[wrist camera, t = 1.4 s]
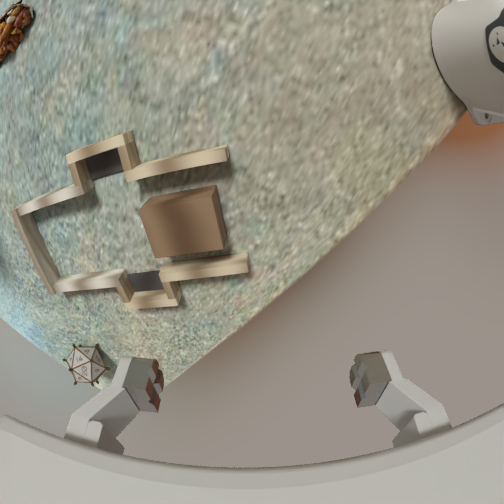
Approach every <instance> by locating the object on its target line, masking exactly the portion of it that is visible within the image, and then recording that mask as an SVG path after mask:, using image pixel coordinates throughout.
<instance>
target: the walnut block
mask: <svg viewBox="0 0 504 504" xmlns="http://www.w3.org/2000/svg"><path fill="white" fill-rule="evenodd" d="M139 213H140V216H141V219H142V222H143V225H144V228H145V231H146V234H147V237H148V239H149V242H150V245H151V248H152V251H153V253H154V256H155V258H162V257H169V256H177V255H184V254H191V253H199V252H206V251H214V250H221V249H224V245H225V239H226V234H227V232H226V227H225V223H224V218H223V214H222V209H221V205H220V200H219V195H218V191H217V186H216V185H213V186H207V187H201V188H196V189H190V190H185V191H180V192H175V193H170V194H165V195H160V196H155V197H151V198H149V199H148V200H147V201H146V203H145V204H144V205H143V206H142V207H141V208H140V209H139Z"/></svg>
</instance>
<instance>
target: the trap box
mask: <svg viewBox="0 0 504 504" xmlns="http://www.w3.org/2000/svg"><path fill="white" fill-rule="evenodd" d="M66 158H67V162H68V165H69V169H70V172H71V175H72V178H73V181H74V184H72V185H69V186H66V187H63V188H60V189H57V190H55V191H52V192H49V193H47V194H44V195H42V196H39V197H36V198H34V199H31V200H29V201H27V202H24V203H22V204H21V205H19V206H18V207H16V208H15V209H14V210H12V211H11V214H12V216H13V219H14V221H15V224H16V226H17V229H18V231H19V233H20V236H21V238H22V240H23V242H24V245H25V247H26V249H27V251H28V253H29V255H30V257H31V259H32V261H33V263H34V265H35V267H36V269H37V271H38V273H39V275H40V277H41V279H42V281H43V283H44V284H45V286H46V288H47V290H48V292H49V293H50V295H53V294H56V292H67V291H78V290H89V289H100V288H111V287H116V288H117V290H118V292H119V294H120V296H121V298H122V300H123V302H124V304H125V306H126V308H127V309H141V308H156V307H169V306H178V305H179V302H180V299H181V296H182V292H181V290H180V287H179V284H178V282H177V281H179V280H188V279H197V278H206V277H215V276H223V275H232V274H240V273H248V272H249V257H248V253H240V254H233V255H225V256H217V257H209V258H202V259H194V260H186V261H178V262H171V263H164V264H163V266H162V268H161V270H160V271H151V272H143V273H135V274H127V272H126V270H125V268H124V269H116V270H109V271H101V272H93V273H85V274H78V275H70V276H62V277H60V275H59V273H58V271H57V269H56V267H55V265H54V263H53V261H52V259H51V257H50V255H49V252H48V250H47V248H46V246H45V244H44V241H43V239H42V237H41V235H40V232H39V230H38V227H37V225H36V223H35V220H34V218H33V215H32V211H35V210H38V209H40V208H43V207H46V206H49V205H52V204H55V203H58V202H61V201H64V200H67V199H70V198H73V197H77V196H80V195H83V194H85V193H87V192H88V191H89V190H91V189H92V188H93V187H94V184H93V181H92V179H96V178H99V177H102V176H106V175H109V174H112V173H116V172H119V171H123V170H124V174H125V177H126V181H127V182H130V181H134V180H138V179H142V178H146V177H150V176H154V175H159V174H163V173H168V172H172V171H177V170H182V169H187V168H192V167H197V166H202V165H207V164H213V163H219V162H224V161H227V160H228V158H229V152H228V146H227V145H224V146H219V147H213V148H208V149H203V150H198V151H193V152H188V153H183V154H179V155H174V156H170V157H166V158H161V159H157V160H153V161H149V162H145V163H141V164H140V161H139V157H138V153H137V149H136V145H135V141H134V137H133V133H132V131H129V132H125V133H122V134H119V135H116V136H113V137H110V138H107V139H105V140H102V141H99V142H96V143H93V144H91V145H88V146H86V147H83V148H80V149H78V150H75V151H73V152H71V153H69V154H67V155H66Z"/></svg>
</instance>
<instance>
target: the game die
mask: <svg viewBox="0 0 504 504" xmlns="http://www.w3.org/2000/svg"><path fill="white" fill-rule="evenodd" d="M72 346H73V347H74V349H73V350H72V352H71V353H70V355H69V357H68V358H67V360H66V359H62V360H63V361H66V362H67V364H68V366H69V368H70V369H69V371H71V373H72V375H73V377H74V379H75V382H74V385H76V384H77V382H85V383H91V385H92V386H94V384H93V382H95V381H96V383H98V384H99V382H98V381H97V380H98V379H99V377H100V376H101V375H102V374H103V372H104V371H105V370H106V369H107V370H110V368H109V367H107V368H106V366H105V364H104V362H103V360H102V358H101V356H100V354H99V352H98V350H97V347H98V344H96V346H95V347H82V346H81V345H79V347H76V346H75V344H73V345H72Z"/></svg>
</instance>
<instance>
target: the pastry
mask: <svg viewBox="0 0 504 504" xmlns="http://www.w3.org/2000/svg"><path fill="white" fill-rule="evenodd" d="M13 3H14V2H13ZM21 3H22V0H18V1H17V2H16V4H11V5H10V7H9V8H8V9H7V10H6V11H5V13H4V14H3V15H2V16H1V17H0V61H2V60H3V59H4V57H5V56H6V54H7V52H8V50H10V51H11V52H13V53H15V52H16V49H17V47H18V45H19V44H20V42H21V41H22V39H23V37H24V34H23V33H22V30H23V26H25V24H29V23H30V22H31V21H32V19H33V12H32V11H33V8H32V7H30V4H25V5H24V4H21ZM13 8H14V9H13ZM11 9H13V10H12V12H11V13H10V14H7V13H8V12H9V11H10V10H11Z"/></svg>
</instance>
